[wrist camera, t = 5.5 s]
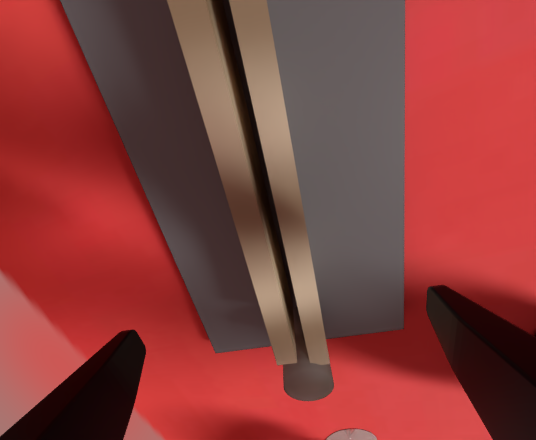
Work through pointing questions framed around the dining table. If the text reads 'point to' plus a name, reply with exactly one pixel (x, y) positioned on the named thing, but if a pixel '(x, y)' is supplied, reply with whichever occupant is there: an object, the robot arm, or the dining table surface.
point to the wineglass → (352, 435)
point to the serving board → (303, 144)
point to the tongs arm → (237, 160)
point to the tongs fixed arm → (284, 199)
